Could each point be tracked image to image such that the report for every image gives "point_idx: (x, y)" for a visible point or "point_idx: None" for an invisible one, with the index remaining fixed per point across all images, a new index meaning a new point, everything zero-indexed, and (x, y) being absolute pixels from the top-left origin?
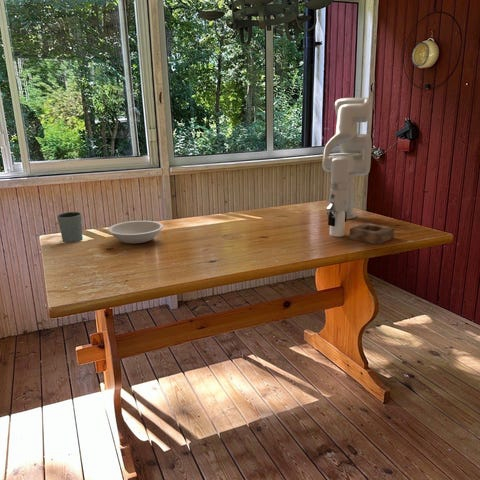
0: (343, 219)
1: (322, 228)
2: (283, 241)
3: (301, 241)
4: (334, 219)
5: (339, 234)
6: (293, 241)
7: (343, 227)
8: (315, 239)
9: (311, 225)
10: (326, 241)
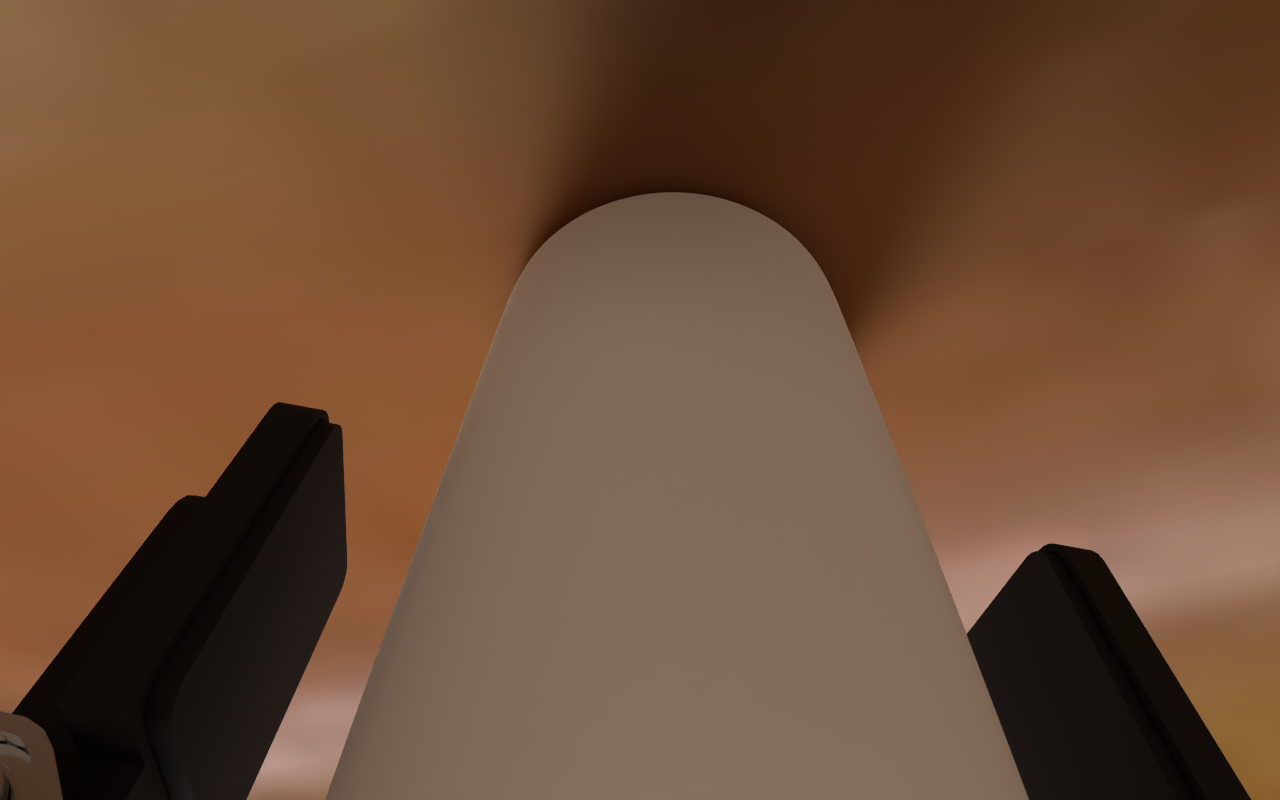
0: (800, 530)
1: (371, 640)
2: (1270, 796)
3: (1259, 669)
4: (1232, 781)
5: (824, 278)
6: (1265, 731)
7: (732, 306)
8: (1105, 560)
9: (333, 762)
10: (1234, 379)
